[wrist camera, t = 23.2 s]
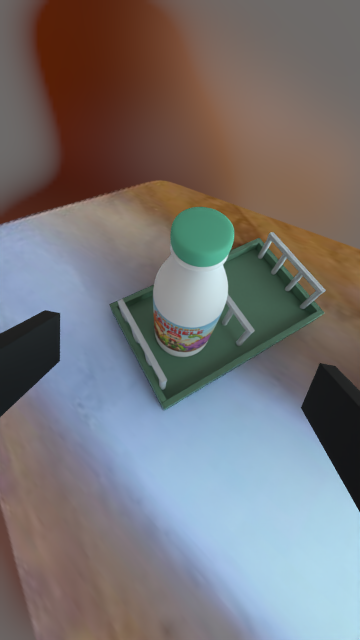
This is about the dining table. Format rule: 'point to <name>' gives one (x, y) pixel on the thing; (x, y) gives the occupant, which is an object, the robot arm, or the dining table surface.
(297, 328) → the drying rack
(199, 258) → the milk bottle
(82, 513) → the dining table surface
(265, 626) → the dining table surface
